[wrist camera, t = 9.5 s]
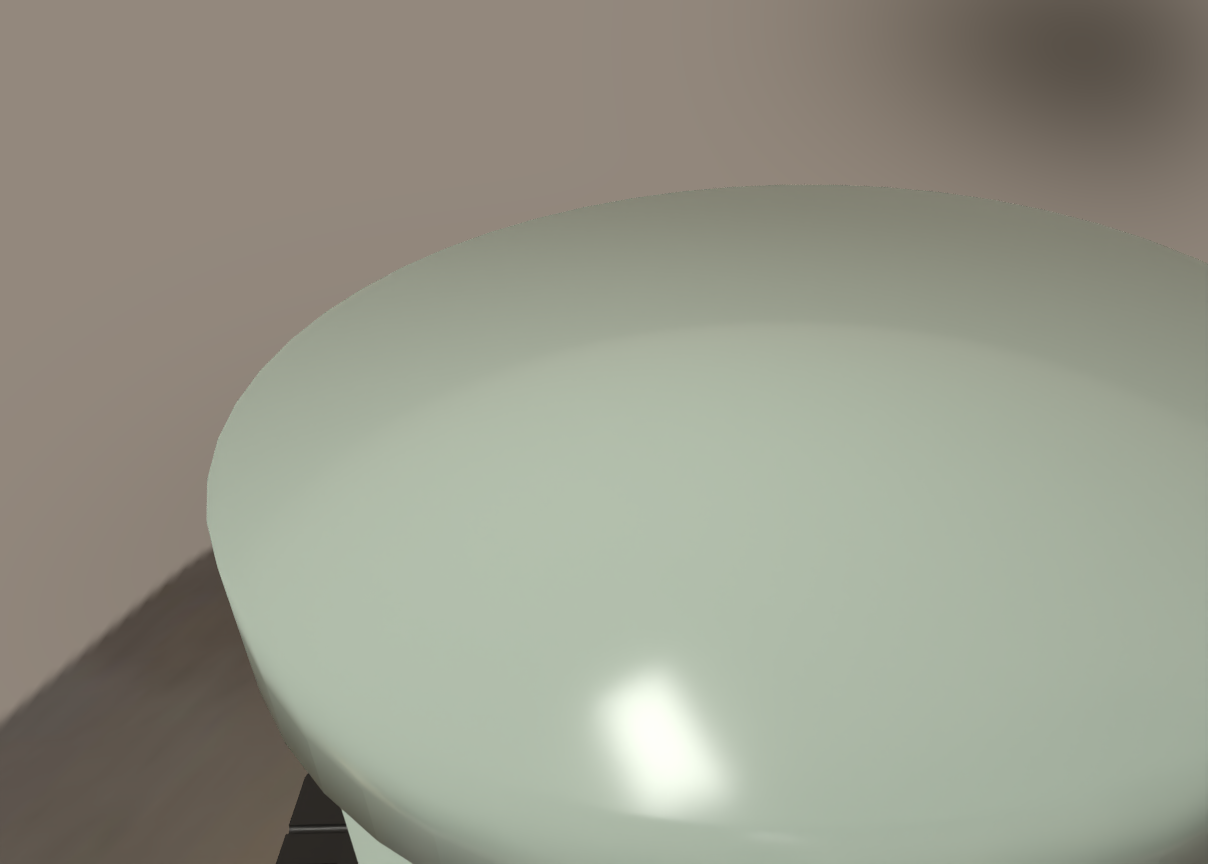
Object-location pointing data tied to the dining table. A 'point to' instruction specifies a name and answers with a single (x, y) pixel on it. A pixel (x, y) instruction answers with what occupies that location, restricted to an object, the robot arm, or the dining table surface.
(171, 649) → the dining table surface
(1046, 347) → the mint green tumbler
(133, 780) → the dining table surface
